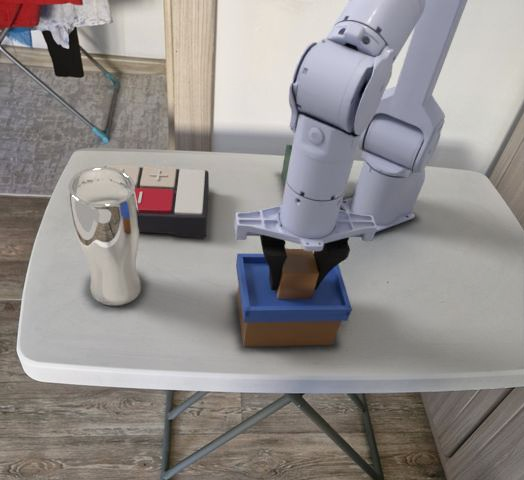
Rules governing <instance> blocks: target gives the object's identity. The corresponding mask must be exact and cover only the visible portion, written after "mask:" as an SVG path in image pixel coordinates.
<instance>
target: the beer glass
mask: <svg viewBox="0 0 524 480" xmlns="http://www.w3.org/2000/svg"><path fill="white" fill-rule="evenodd" d="M68 192H69V202H70V213H71V218H72V223H73V227H74V232H75V235H76V238H77V240H78V243H79V246H80V248H81V250H82V253H83V255H84V257H85V259H86V261H87V263H88V264H87V265H88V266H89V269H90V288H89V289H90V292H91V295H92V297H93V298H94V299H95V300H96V301H97V302H99V303H100V304H103V305H106V306H110V307H118V306H124V305H127V304H130V303H131V302H133V301H135V299H137V298H138V297H139V296H140V294H141V289H142V282H141V280H140V279H141V278H140V277H139V274H138V271H137V255H138V249H139V241H140V233H141V232H140V219H139V209H138V203H137V197H136V192H135V184H134V181H133V179H132V178H131V177H130V176H129V175H128V174H126V173H125V172H123V171H121V170H118V169H114V168H108V167H105V166H98V167H90V168H86V169H84V170H81V171H79V172H78V173H75V174H74V175H73V176H72V178H71V179H70V180H69V183H68Z"/></svg>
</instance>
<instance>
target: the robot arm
mask: <svg viewBox="0 0 524 480" xmlns="http://www.w3.org/2000/svg"><path fill="white" fill-rule="evenodd" d="M467 3H468V0H348V2H347V3H346V5H345V7H344V9H343V10H342V12H341V13H340V15H339V16H338V18H337V19H336V21H335V23H334V24H333V26H332V28H331V30H330V31H329V33H328V35H327V36H326V37H325V38H322V39H321V40H319V41H318V42H317V41H313V42H311V43H310V44H308V45H307V46H306V48H305V49H304V50H303V51H302V53H301V55H300V57H299V59H298V61H297V63H296V66H295V69H294V72H293V76H292V80H291V82H290V84H289V90H288V104H289V108H290V111H291V115H290V122H289V128H290V131H292V133H293V140H292V144H291V145H292V151H291V156H290V161H289V167H288V172H287V178H286V184H285V189H283V195H282V201H281V204H280V205H276V206H271V207H266V208H261V209H257V210H252V211H246V212H235V215H234V224H233V230H234V236H235V237H234V238H235V240H236V241H245V240H247V238H248V237H259V238H260V245H261V250H262V254H264V257H265V259H266V261H267V263H268V266H269V281H270V286H271V290H277V289H278V286H279V282H280V275H281V271H282V268H283V265H284V263H285V260H286V259H287V254H286V250H285V249H286V242H290V243H293V244H297V245H301V249H303V250H305V251H313V254H314V257H315V261H316V265H317V269H318V272H319V275H318V279H317V282H316V286H315V289H314V290H316V289H317V288H318V286H319V285H320V283H321V282H322V280H323V279H324V278H325V276H326V275H327V274H328V273H329V272H330V271H331V270H332V269H333V268H334V267H335V266H336V265H339V264H340V263H342V262H344V261H346V260H347V258H348V257H349V254H350V252H351V249H350V245H349V240H350V238H361V241H362V242H373V241H374V237H375V235H376V233H377V232H381V231H384V230H386V229H389V228H392V227H394V226H397V225H399V224H402V223H405V222H409V221H411V220H413V219H415V217H416V215H415V214H414V212H413V209H414V207H415V205H416V202H417V199H418V197H419V195H420V193H421V190H422V188H423V186H424V183H425V180H426V168H427V166H428V165H429V163H430V161H431V159H432V157H433V155H434V152H435V150H436V149H437V147H438V144H439V141H440V139H441V136H442V135H441V133H442V130H443V127H444V124H445V122H446V121H445V118H446V115H445V113H444V111H443V109H442V108H441V106H440V105H439V103H438V102H437V101H436V99H435V98H434V95H433V93H434V90H435V88H436V85H437V82H438V80H439V77H440V74H441V72H442V69H443V67H444V64H445V61H446V59H447V56H448V53H449V51H450V49H451V47H452V43H453V40H454V37H455V35H456V33H457V30H458V27H459V25H460V21H461V19H462V16H463V13H464V11H465V9H466V5H467ZM411 34H412V35H411ZM410 36H411V38H410ZM409 38H410V40H409V44H408V47H407V50H406V52H405V53H406V54H405V57H404V60H403V63H402V65H401V69H400V72H399V75H398V78H397V81H396V85H395V86H393V87H390V88H387V87H388V85H389V83H390V81H391V78H392V75H393V66H394V63H395V61H396V59H397V58H398V56H399V54H400V53H401V51H402V50H403V48H404V46H405V44H406V43H407V41H408V39H409ZM386 88H387V89H386ZM358 149H359V150H360V151H362V153H361V156H360V158H361V159H362V160H363V162H362V166H361V169H360V172H359V175H358V179H357V182H356V186H355V189H354V192H353V196H352V197H349V198H345V199H344V197H345V192H346V189H347V185H348V182H349V179H350V175H351V173H352V172H351V171H352V168H353V164H354V161H355V157H356V155H357V150H358Z"/></svg>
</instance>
